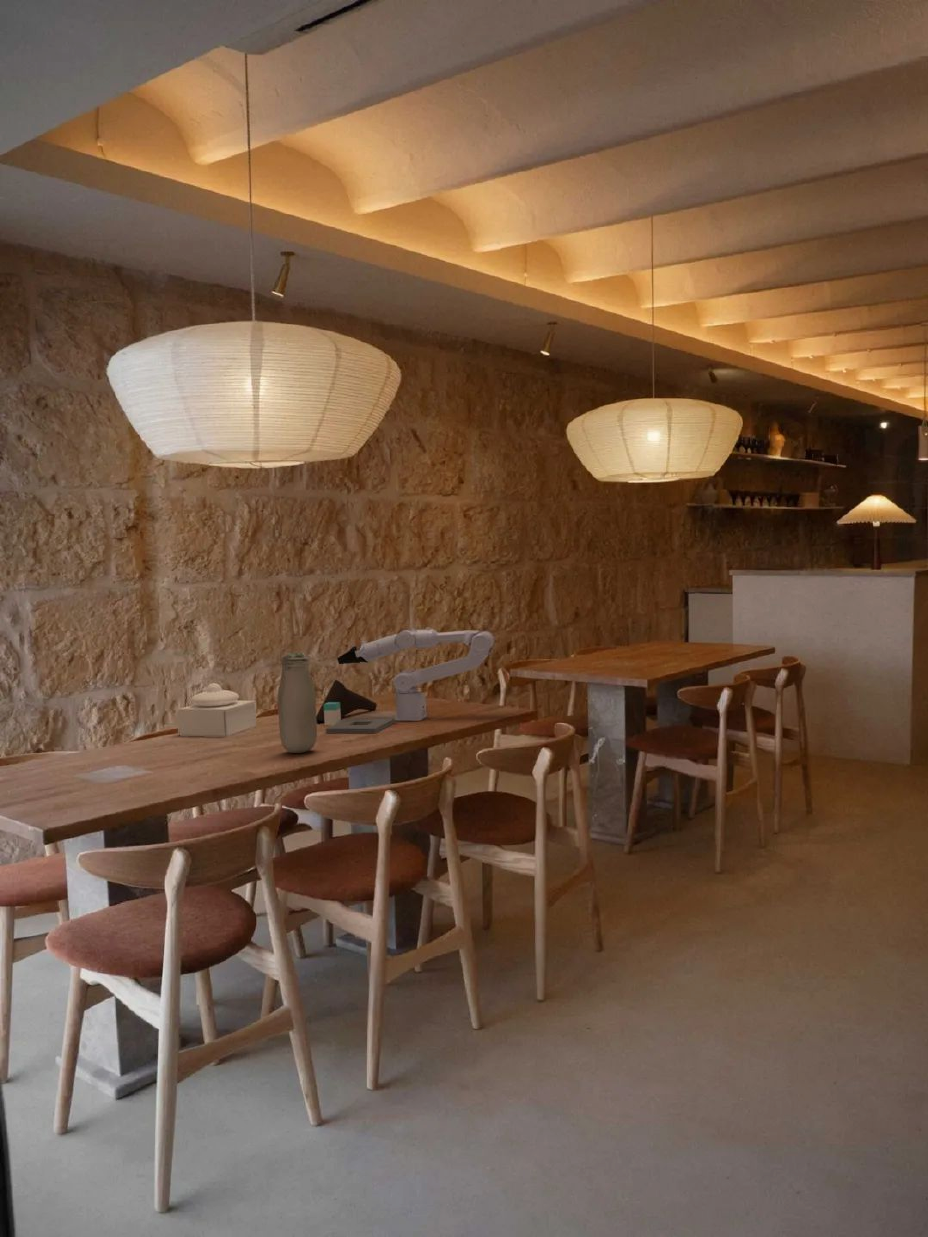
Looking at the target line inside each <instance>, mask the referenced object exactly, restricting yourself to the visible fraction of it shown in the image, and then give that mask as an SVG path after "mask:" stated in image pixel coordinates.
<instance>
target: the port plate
mask: <svg viewBox="0 0 928 1237" xmlns="http://www.w3.org/2000/svg"><path fill="white" fill-rule="evenodd" d="M395 718H396V717H392V718H389V717H388V718H386V717H384V718H383V717H382V718H381V717H380V718H379V717H375V718H374V717H372V718H371V717H370V718H366V717H364V718H363V717H361V718H357V717H356V718H355V717H354V718H353V717H351V718H346V719H344V720H341V722H339V723H337V724H335V725H333V726H327V727H326V728H325V733H326V734H373V735H374V734H377V733H380V732H381V731H383V730H385V729H387V728H388V727H390V726H392V725H394V724H395V723H396V721H395ZM393 723H394V724H393Z"/></svg>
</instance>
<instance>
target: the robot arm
mask: <svg viewBox="0 0 928 1237" xmlns="http://www.w3.org/2000/svg"><path fill="white" fill-rule="evenodd" d="M495 640H496V639H495V636H494V635H493V634H492V632H490V631H488V630H483V631H480V630H474V629H472V630H468V629H467V630H465V629H464V630H455V631H454V630H453V631H445V632H444V631H443V632H442V631H441V632H438V631H437V630H436V629H434V628H431V627H425V629H416V628H411V630H410V629H407V630H406V629H404V630H402V631H400V632H399V633H393V634H392V635H388V636H385V637H381V638H379V639H377V640H374V641H370V642H367V641H365V640H362V641H361V646H360V648H357V646H356V645H354V646H352V647H351V648H350V649H349V650H348V651H346V652H345V653H343V654H342V655H339V656H338V657H337V658H336V660H337V663H338V665H345V664H347V665H348V664H361V663H370V662H372V661H373V660H377V659H380V658H382V657H385V656H388V655H392V654H394V653H396V652H398V651H401V650H409V649H411V648H412V647H413V648H435V647H436V646H437V645H438V644H439V643H463V644H465V646H467V647H470V649H469V651H468V652H467V655H466V656H464V657H460V658H456V659H453V660H449V661H446V662H443V663H438V664H435V665H431V666H428V667H424V668H421V669H404V670H403V671H402V672H400V673H397V674H396V675H395V676H394V678H393V681H392V682H393V683H392V684H393V687H394V688H395V690H394V691H395V692H394V694H395V695H394V696H395V711H396V717H394V718H395V722H396V721H404V722H405V721H412V722H413V721H415V722H416V721H418V722H419V721H423V720H424V719H425V718H427V717H428V715H427V702H426V701H427V699H426V694H425V693H424V692H423V691H418V688H417V686H420V685H423V684H427V683H431V682H433V681H436V680H439V679H441V680H442V679H443V678H448V677H451V676H454V675H459V674H461V673H462V674H463V673H466V672H469V671H472V670H475V669H477V668H479V666H480V665H482V663H483V662H484V661H485V659H486V658H488V656H489V655H490V654H491V653H492V650H493V648H494V645H495Z"/></svg>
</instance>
